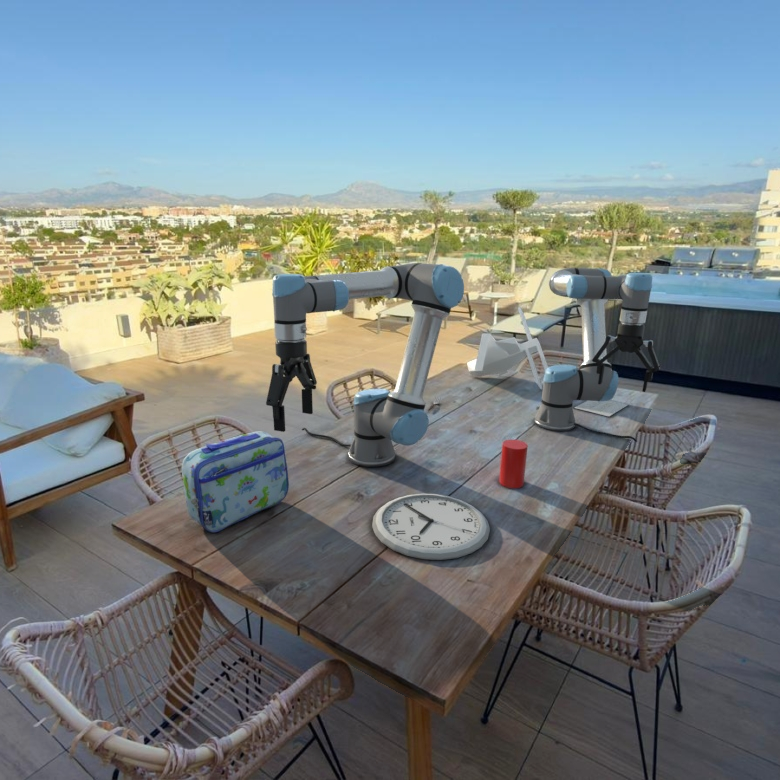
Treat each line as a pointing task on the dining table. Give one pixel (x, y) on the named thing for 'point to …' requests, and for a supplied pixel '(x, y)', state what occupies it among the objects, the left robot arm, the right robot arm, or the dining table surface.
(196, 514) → the lunch box
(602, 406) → the invitation card
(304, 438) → the dining table surface
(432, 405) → the fork
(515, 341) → the white plastic object
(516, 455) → the can
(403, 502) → the wall clock
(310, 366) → the left robot arm
